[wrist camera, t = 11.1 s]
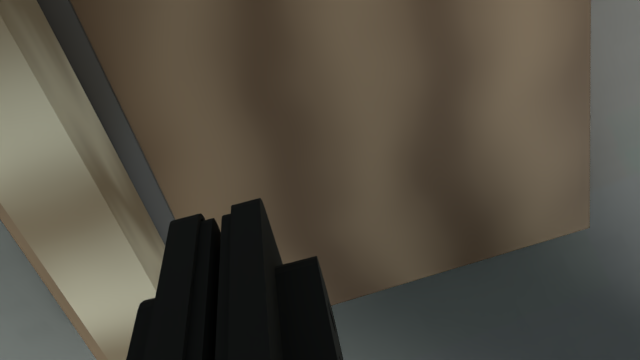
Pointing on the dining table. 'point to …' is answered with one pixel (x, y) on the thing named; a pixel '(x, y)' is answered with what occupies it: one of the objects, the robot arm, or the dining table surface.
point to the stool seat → (344, 124)
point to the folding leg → (70, 184)
